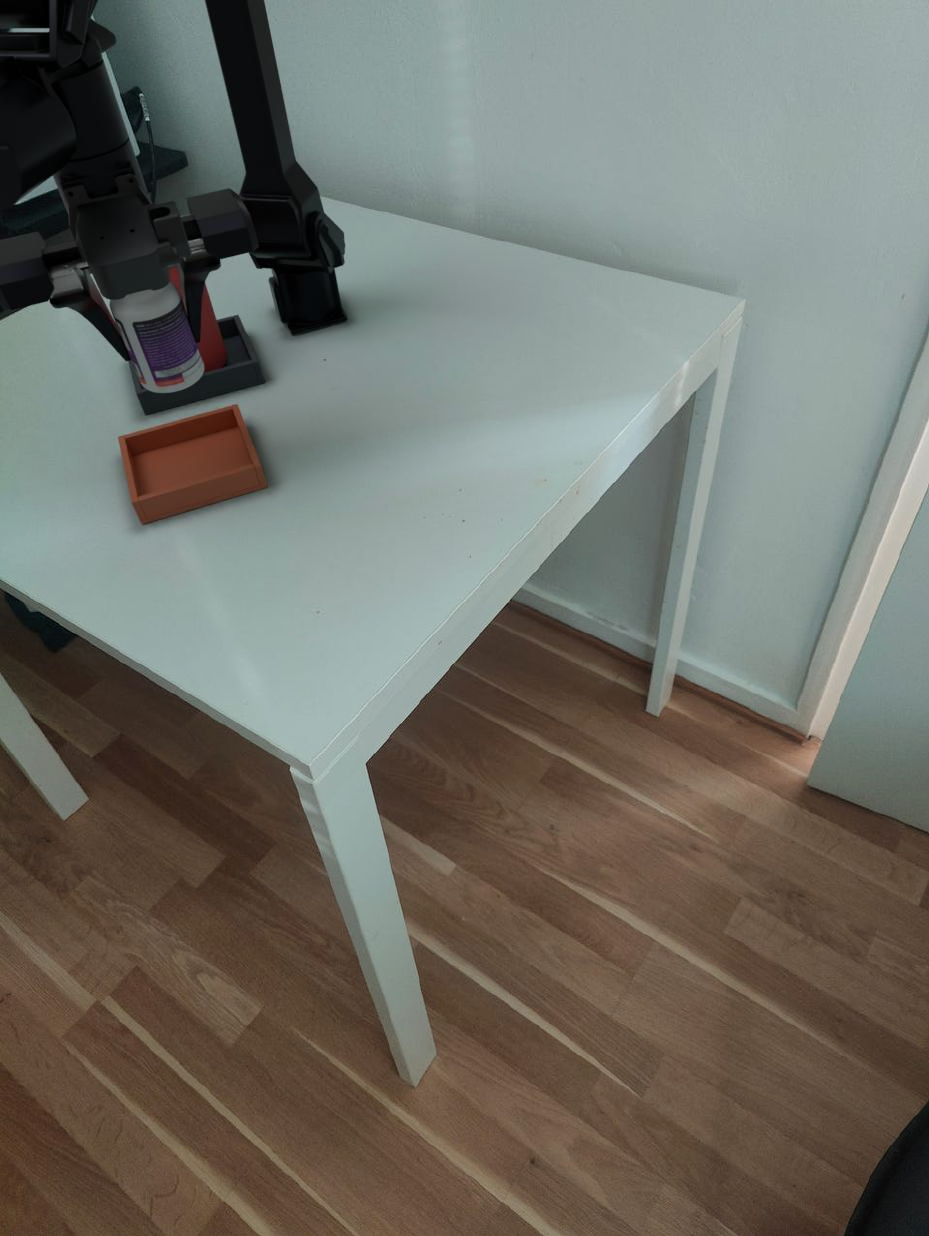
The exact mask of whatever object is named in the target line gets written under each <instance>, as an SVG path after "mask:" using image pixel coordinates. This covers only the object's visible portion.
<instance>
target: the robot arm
mask: <svg viewBox="0 0 929 1236" xmlns="http://www.w3.org/2000/svg"><path fill="white" fill-rule="evenodd" d="M99 1H100V0H0V30H1V29H48V31H0V211H2V210H3V211H4V210H7V209H10V208H11V207H13V206H14V205H15V204H17V203H19V202H20V201H21V200H22V199H24V198H25V197H26V196H27V195H29V194H31V192H33V191H35V189H37V188H38V187H39V186H41V185H42V184H43V183H45V182H46V181H48V180H49V179H50V178H52V177H53V180H54V182H55V185H56V188H57V190H58V192H59V195H60V197H61V200H62V202H63V205H64V207H65V210H66V213H67V215H68V217H67V218H68V226H69V229H70V232H71V234H72V237H73V240H74V241H69V242H66V243H62V244H58V245H53V246H48V247H47V245H46V242H45V240H44V239H43V237H42V235H41V234H40V231H35V232H30V233H25V234H21V235H17V236H12V237H7V238H3V239H0V306H1V308H2V310H8V311H15V310H18V309H23V308H27V307H30V306H35V305H38V304H43V303H47V302H49V304H50V305H51V307H52V308H54V309H63V308H68V309H70V310H73V311H75V312H77V313H78V314H80V315H81V316H82V317H83V318H85V320H87V321H88V322H89V323H90V324H91V325H92V326H93V327H94V328H95V329H96V330H97V331H98V332H99V333H100V334H101V336H102V337H103V338H104V339H105V340H106V341H107V342H108V343H109V344H110V346H111V347H112V348H113V349H114V350H115V351H116V352H117V353H118V354H119V356H120V357H121V358H122V359H123V360H124V361H125V362H128V361H130V360H131V359H130V356H129V354H128V352H127V349H126V347H125V344H124V342H123V340H122V337H121V335H120V332H119V330H118V327H117V325H116V322H115V320H114V318H113V315H112V312H111V310H110V308H109V307H108V305H107V304H106V302H105V300H104V298H105V299H106V300H109V301H110V300H118V299H122V298H125V296H126V295H129V294H133V293H137V292H141V291H145V290H153V291H155V290H159V289H162V288H164V287H166V286H167V285H168V284H169V282H170V274H169V271H168V268H167V266H170V265H174V264H176V267H177V272H178V276H179V281H180V286H181V291H182V296H183V300H184V305H185V310H186V313H187V316H188V319H189V323H190V327H191V330H192V333H193V336H194V339H195V341H196V343H200V342H201V313H202V296H203V290H204V285H205V284H206V280H207V279H208V276H209V275H210V273H211V272H215V271H217V270H219V269H221V267H222V261H221V260H224V259H228V258H232V257H237V256H241V255H244V254H245V255H246V254H248V255H249V256H250V259H251V261H252V262H253V264H254V267H255V268H256V269H257V270H262V269H266V270H270V271H271V274H272V276H270V277H268V285H269V289H270V293H271V297H272V300H273V304H274V305H273V306H274V309H275V312H276V315H277V317H278V318H279V320H280V323H282V324H285V326H286V328H287V329H288V332H289V334H291V335H298V334H302V333H305V332H309V331H313V330H316V329H321V328H324V327H328V326H332V325H335V324H339V323H343V322H346V321H347V320H348V314H347V313H346V311H345V309H344V307H343V305H342V300H341V295H340V294H341V293H340V289H339V284H338V279H337V273H336V269H337V268H340V267H343V266H344V265H345V263H346V261H345V254H346V242H345V241H346V240H345V231H344V230H343V229H342V228H341V227H339V226H338V225H337V223H336V222H334V221H333V220H332V218H331V217H330V216H329V215H327V214H326V212H325V210H324V205H323V202H322V198H321V195H320V191H319V187H318V186H317V184H316V183H315V182H314V181H313V180H312V178H311V177H310V176H309V175H308V174H307V172H306V171H305V170H304V168H303V167H302V166H301V165H300V163H299V162H298V161H297V157H296V154H295V150H294V149H295V148H294V144H293V139H292V133H291V129H290V124H289V119H288V114H287V113H288V112H287V109H286V103H285V99H284V94H283V89H282V84H281V78H280V73H279V69H278V63H277V58H276V53H275V48H274V43H273V38H272V37H273V36H272V32H271V27H270V23H269V18H268V13H267V7H266V1H265V0H204V2H205V7H206V11H207V16H208V20H209V24H210V28H211V32H212V37H213V41H214V45H215V49H216V53H217V57H218V58H217V59H218V62H219V66H220V70H221V74H222V79H223V82H224V86H225V91H226V95H227V99H228V103H229V108H230V112H231V116H232V120H233V124H234V128H235V129H234V130H235V132H236V136H237V141H238V144H239V150H240V154H241V158H242V162H243V166H244V171H245V174H244V177H243V180H242V184H241V186H240V191H239V193H237V192H235V191H234V190H233V189H231V188H230V187H229V188H224V189H220V190H215V191H211V192H206V193H202V194H198V195H197V194H196V195H193V196H189V197H185V199H186V204H187V208H188V212H189V213H188V214H184V215H180V211H179V208H178V206H177V204H176V202H175V200H172V201H167V202H163V203H158V204H157V203H156V202H154V203H153V202H152V201H151V198H150V194H149V191H148V189H147V186H146V183H145V179H144V177H143V174H142V171H141V168H140V165H139V161H138V159H137V156H136V153H135V149H134V148H133V147H134V146H133V144H132V140H131V138H130V135H129V131H128V129H127V126H126V123H125V120H124V117H123V114H122V111H121V108H120V104H119V101H118V99H117V96H116V93H115V90H114V87H113V84H112V80H111V78H110V75H109V71H108V69H107V65H106V63H105V60H104V58H103V54H104V53H105V52H107V51H109V50H110V49H112V48H113V47H115V46H116V45H117V37H116V35H115V33H114V32H112V31H111V30H110V29H108V28H106V27H105V26H104V25H101V24H100V23H98V22H97V21H95V19H93V18H92V16H93V14H94V12H95V9H96V8H97V5H98V3H99ZM89 270H90V271H89ZM90 273H91V274H90ZM91 275H92V276H91Z"/></svg>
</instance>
